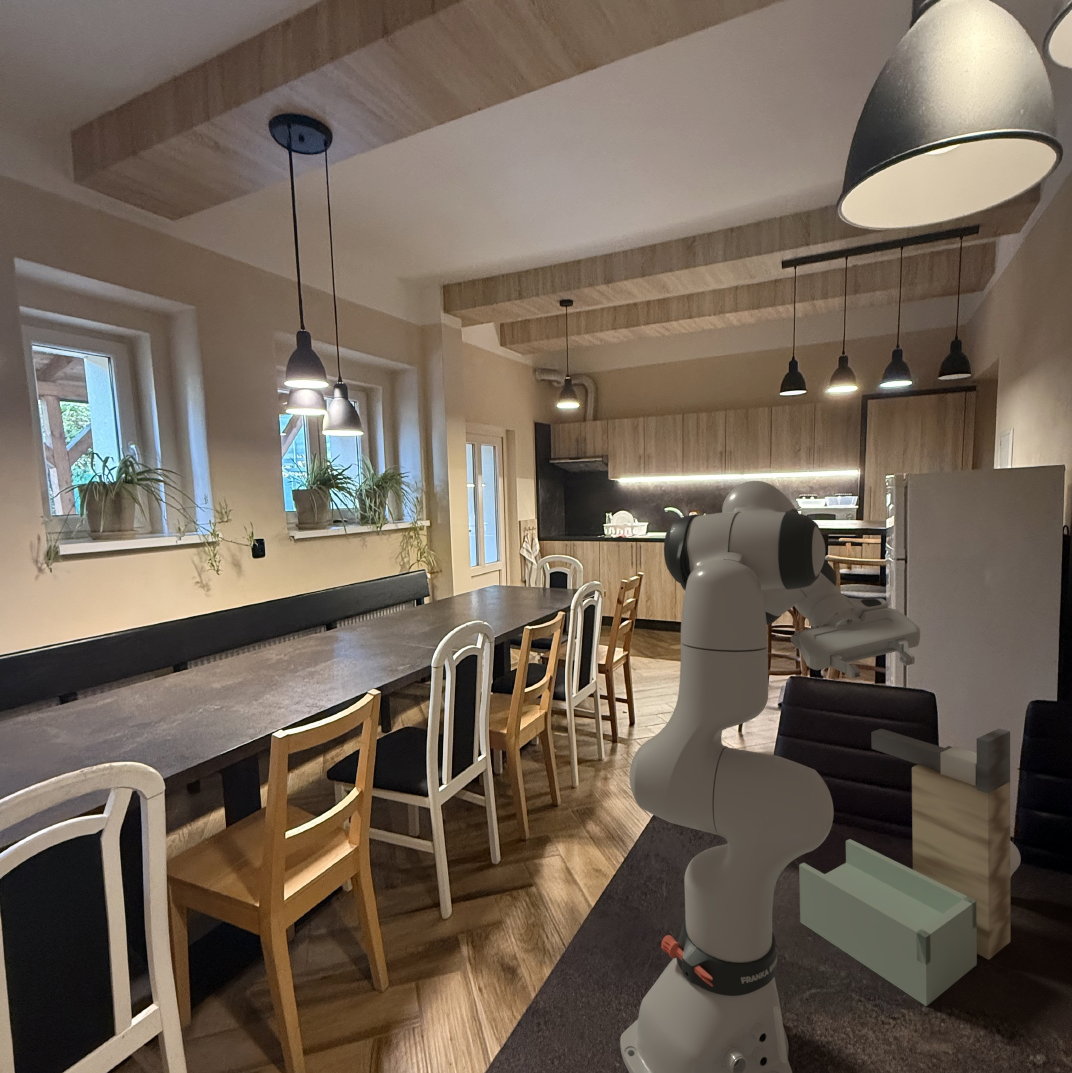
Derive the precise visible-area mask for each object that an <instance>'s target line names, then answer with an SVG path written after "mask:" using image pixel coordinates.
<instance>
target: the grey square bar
mask: <svg viewBox="0 0 1072 1073" xmlns="http://www.w3.org/2000/svg"><path fill="white" fill-rule="evenodd" d="M870 733H871V749H872V750H875V751H877V752H880V753H884V754H886V755H889V756H893V757H895V758H899V759H901V760H905V761H907V762H909V763H913V764H916V765H918V764H919V765H922V766H924V767H927V768H930V769H933V770H936V771H938V772H941V774H942V775H945V776H948V777H951V778H954V779H957V780H960V781H963V782H966V783H968V784H971V785H974V786H977V751H972V750H970V749H969V750H968V749H965V748H963V747H962V748H961V747H959V746H950V745H947V746H946V747H943V746H940V745H936V744H934V743H930V742H926V741H923V740H920V739H916V738H913V737H910V736H906V735H904V734H900V733H897V732H894V731H892V730H888V729H885V728H884V729H883V728H879V729H876V730H873V731H871V732H870Z"/></svg>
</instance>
